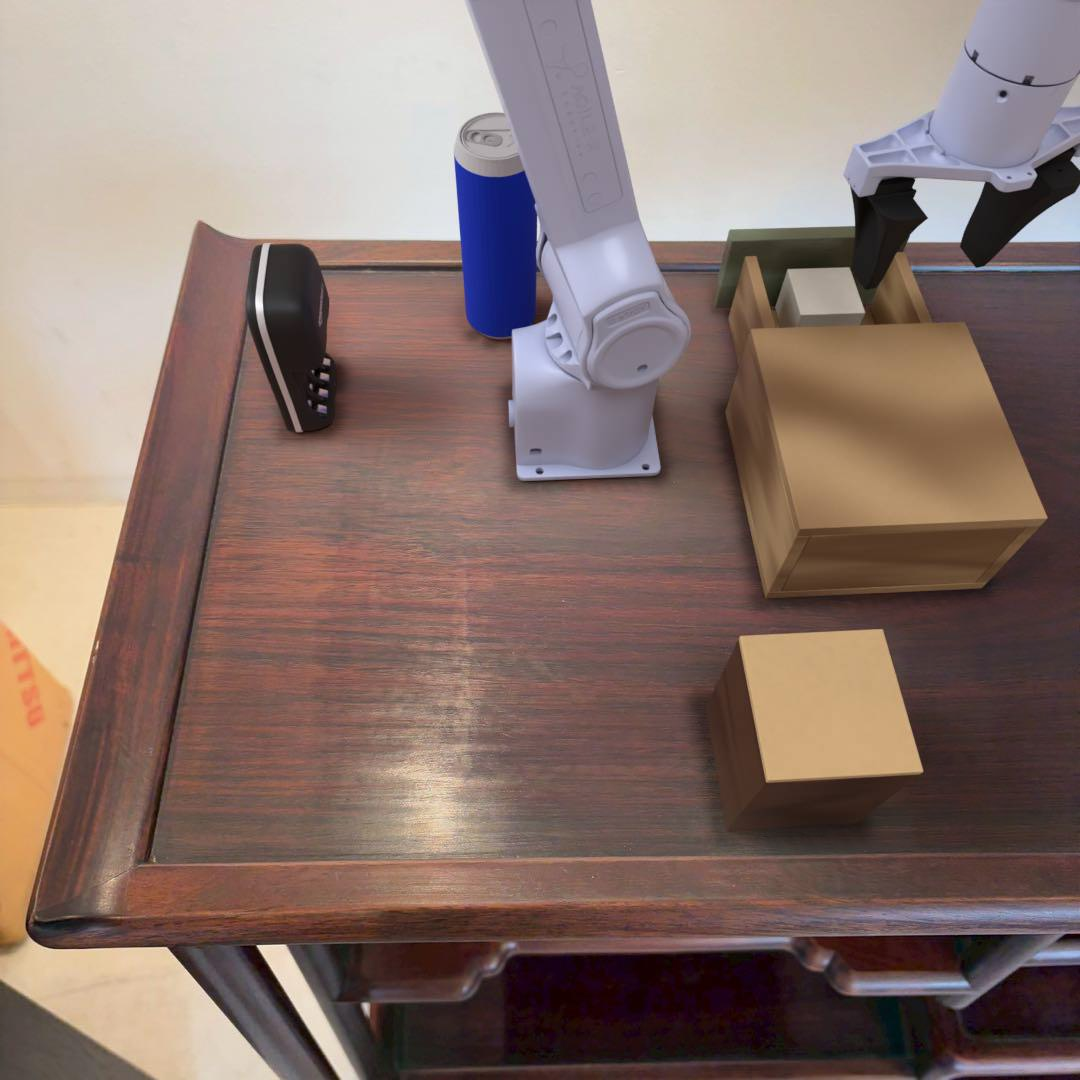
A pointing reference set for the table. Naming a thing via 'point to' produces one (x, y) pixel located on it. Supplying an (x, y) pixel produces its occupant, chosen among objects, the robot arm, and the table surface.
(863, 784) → the stand
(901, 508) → the cabinet
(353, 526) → the table surface
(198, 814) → the table surface
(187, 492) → the table surface
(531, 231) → the beverage can
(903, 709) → the coaster
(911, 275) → the drawer
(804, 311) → the block
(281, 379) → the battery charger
